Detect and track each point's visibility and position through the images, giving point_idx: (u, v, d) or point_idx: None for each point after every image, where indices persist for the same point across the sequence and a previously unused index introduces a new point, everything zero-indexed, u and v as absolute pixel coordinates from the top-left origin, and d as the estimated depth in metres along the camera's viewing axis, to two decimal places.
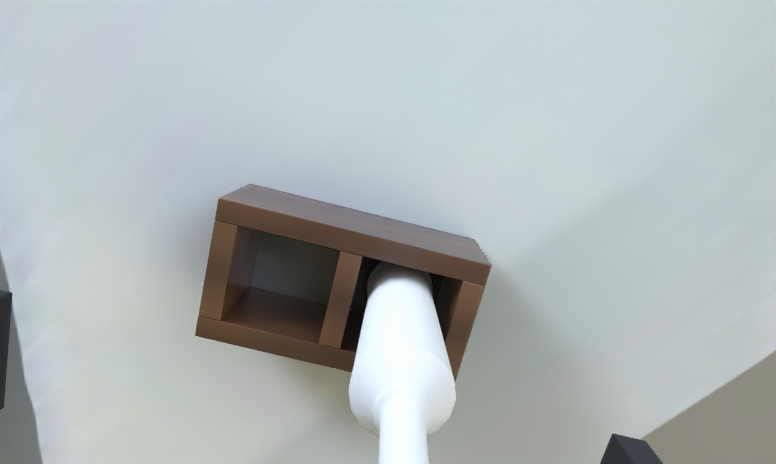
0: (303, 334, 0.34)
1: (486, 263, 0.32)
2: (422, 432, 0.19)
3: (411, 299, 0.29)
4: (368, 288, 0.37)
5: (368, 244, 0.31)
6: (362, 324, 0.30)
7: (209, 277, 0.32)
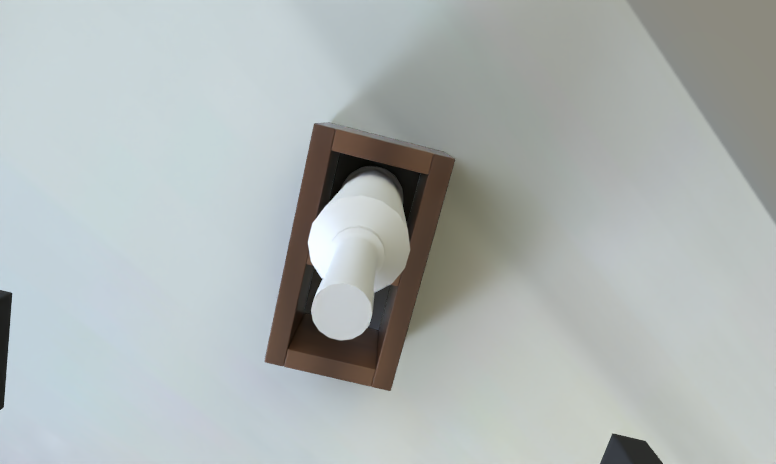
0: (394, 297, 0.36)
1: (313, 127, 0.33)
2: (339, 250, 0.21)
3: None
4: None
5: (298, 239, 0.34)
6: None
7: (335, 375, 0.37)
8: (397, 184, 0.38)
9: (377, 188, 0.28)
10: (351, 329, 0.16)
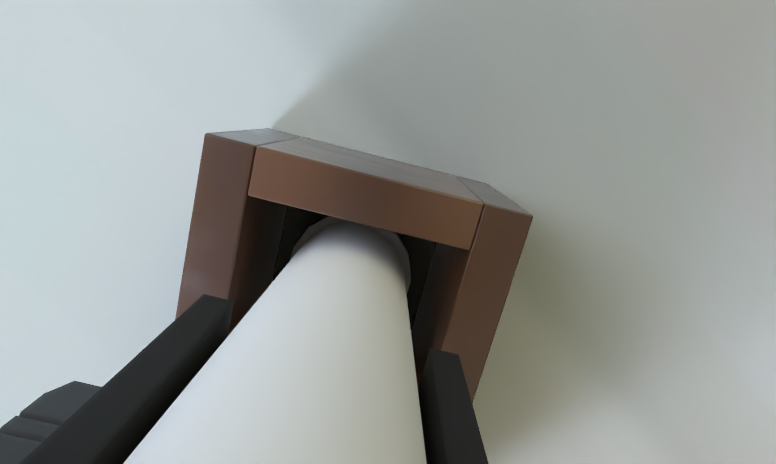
0: None
1: None
2: None
3: None
4: None
5: None
6: None
7: None
8: (399, 249, 0.20)
9: (339, 332, 0.09)
10: None
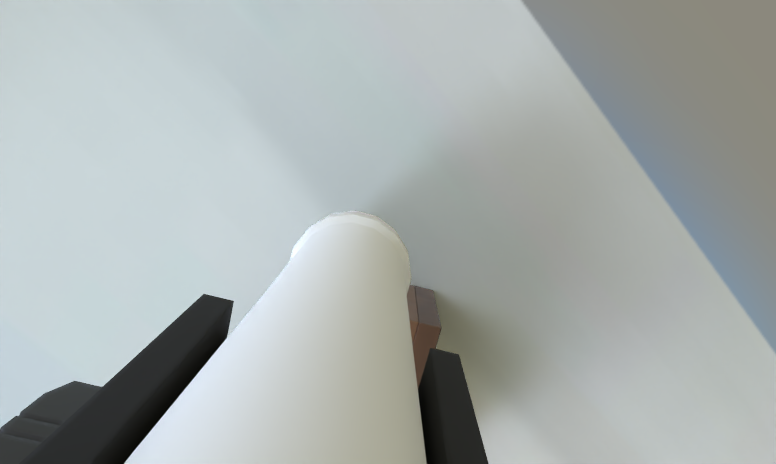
0: None
1: None
2: None
3: None
4: None
5: None
6: None
7: None
8: (399, 249, 0.20)
9: (339, 333, 0.09)
10: None
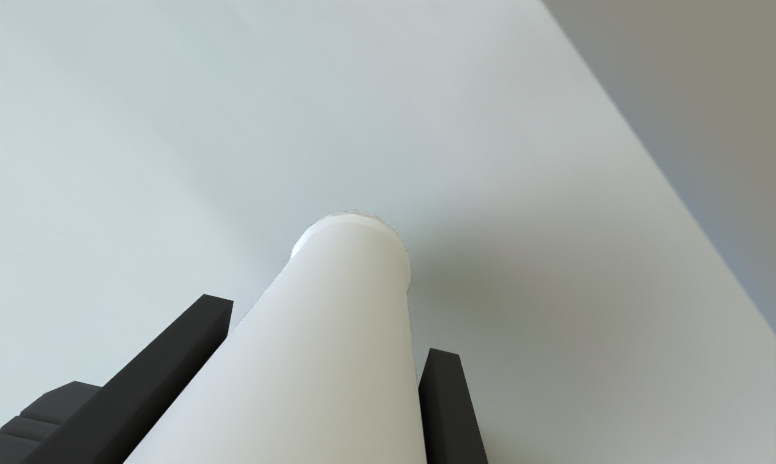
0: None
1: None
2: None
3: None
4: None
5: None
6: None
7: None
8: (399, 248, 0.20)
9: (339, 331, 0.09)
10: None
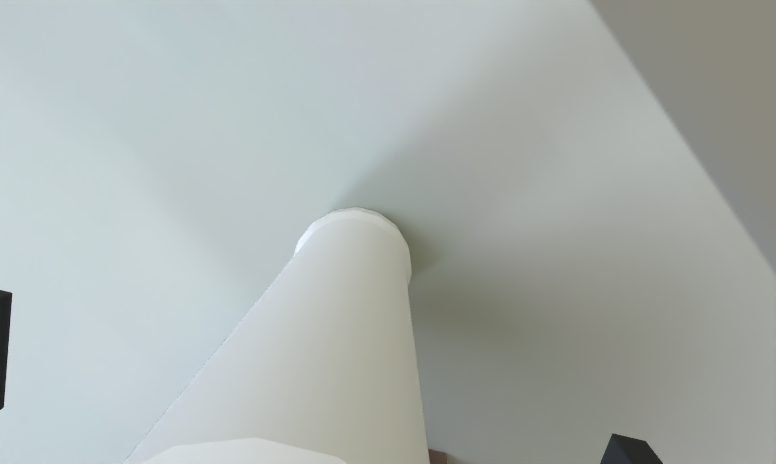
0: None
1: None
2: None
3: None
4: None
5: None
6: None
7: None
8: (400, 244, 0.20)
9: (344, 317, 0.10)
10: None
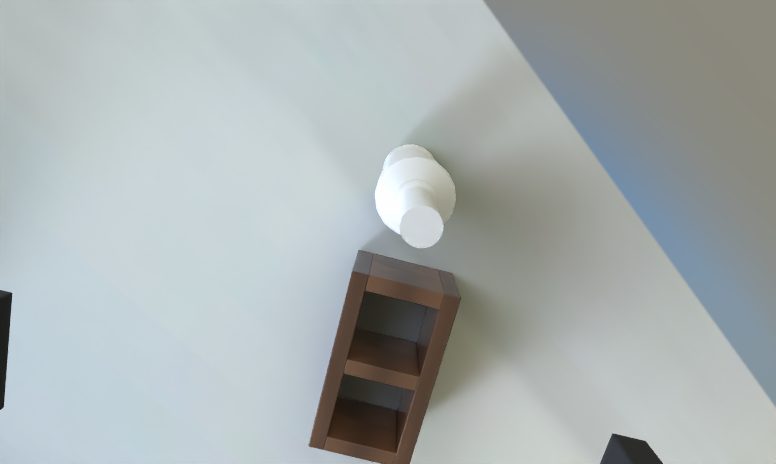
0: (411, 396, 0.46)
1: None
2: (407, 194, 0.27)
3: None
4: None
5: (337, 355, 0.44)
6: None
7: (364, 457, 0.46)
8: (432, 160, 0.45)
9: (425, 155, 0.34)
10: (428, 240, 0.23)
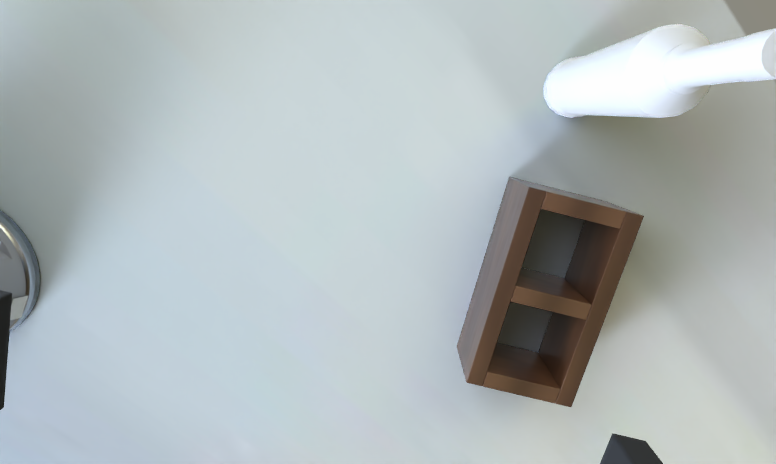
0: (577, 328, 0.43)
1: (527, 190, 0.39)
2: (700, 48, 0.24)
3: (586, 71, 0.34)
4: (573, 115, 0.43)
5: (506, 281, 0.41)
6: (605, 114, 0.35)
7: (525, 393, 0.43)
8: None
9: None
10: None
